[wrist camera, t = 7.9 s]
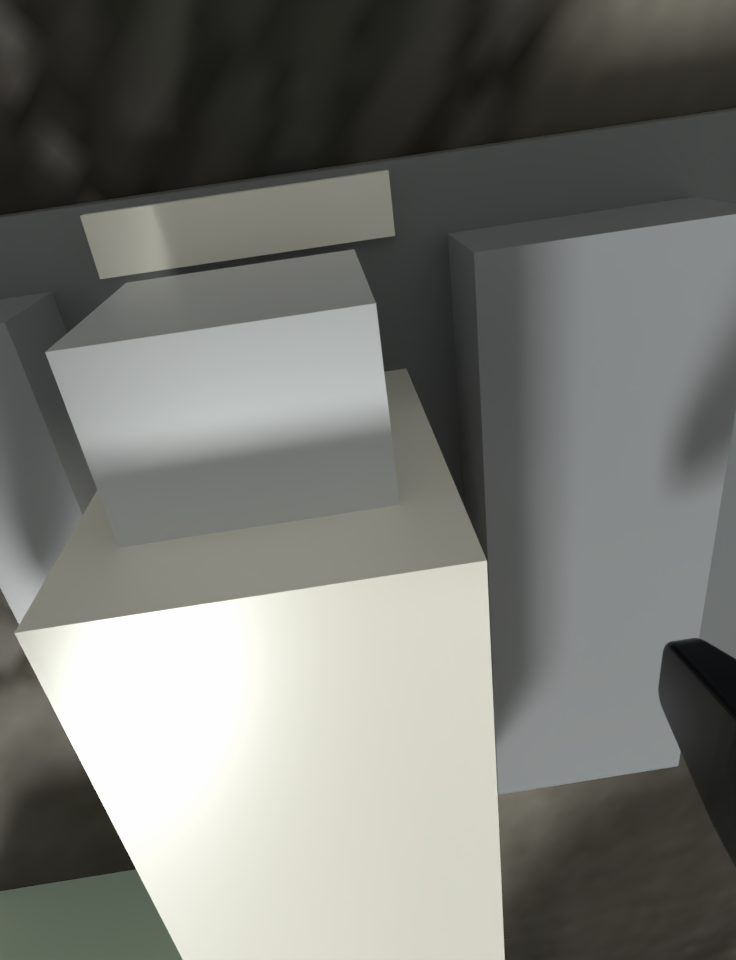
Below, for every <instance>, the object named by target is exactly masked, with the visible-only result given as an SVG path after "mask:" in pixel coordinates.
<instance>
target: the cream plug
mask: <svg viewBox="0 0 736 960" xmlns="http://www.w3.org/2000/svg"><path fill="white" fill-rule="evenodd" d="M45 353H46V356H47V359H48V361H49V364H50V367H51V369H52V372H53V375H54V377H55V380H56V382H57V385H58V388H59V390H60V393H61V396H62V398H63V401H64V403H65V406H66V409H67V411H68V414H69V417H70V419H71V422H72V425H73V427H74V430H75V432H76V435H77V438H78V440H79V443H80V446H81V448H82V451H83V454H84V456H85V459H86V461H87V464H88V467H89V469H90V472H91V475H92V477H93V480H94V483H95V485H96V488H97V491H96V493H95V495H94V496H93V498H92V500H91V502H90V503H89V505H88V507H87V509H86V510H85V512H84V514H83V515H82V517H81V519H80V521H79V522H78V524H77V526H76V528H75V529H74V531H73V533H72V534H71V536H70V538H69V540H68V541H67V543H66V545H65V547H64V548H63V550H62V552H61V553H60V555H59V557H58V559H57V560H56V562H55V564H54V566H53V567H52V569H51V571H50V573H49V574H48V576H47V578H46V579H45V581H44V583H43V585H42V586H41V588H40V590H39V592H38V593H37V595H36V597H35V598H34V600H33V602H32V604H31V605H30V607H29V609H28V611H27V612H26V614H25V616H24V617H23V619H22V621H21V623H20V624H19V626H18V628H17V630H16V631H15V635H16V637H17V639H18V641H19V643H20V645H21V647H22V649H23V651H24V652H25V654H26V656H27V658H28V660H29V662H30V664H31V666H32V668H33V670H34V672H35V674H36V676H37V678H38V680H39V682H40V684H41V685H42V687H43V689H44V691H45V693H46V695H47V697H48V699H49V701H50V703H51V705H52V707H53V709H54V711H55V713H56V715H57V717H58V719H59V720H60V722H61V724H62V726H63V728H64V730H65V732H66V734H67V736H68V738H69V740H70V742H71V744H72V746H73V748H74V750H75V752H76V753H77V755H78V757H79V759H80V761H81V763H82V765H83V767H84V769H85V771H86V773H87V775H88V777H89V779H90V781H91V783H92V785H93V786H94V788H95V790H96V792H97V794H98V796H99V798H100V800H101V802H102V804H103V806H104V808H105V810H106V812H107V814H108V816H109V818H110V819H111V821H112V823H113V825H114V827H115V829H116V831H117V833H118V835H119V837H120V839H121V841H122V843H123V845H124V847H125V849H126V851H127V852H128V854H129V856H130V858H131V860H132V862H133V864H134V866H135V868H136V870H137V872H138V874H139V876H140V878H141V880H142V882H143V884H144V885H145V887H146V889H147V891H148V893H149V895H150V897H151V899H152V901H153V903H154V905H155V907H156V909H157V911H158V913H159V915H160V917H161V918H162V920H163V922H164V924H165V926H166V928H167V930H168V932H169V934H170V936H171V938H172V940H173V942H174V944H175V946H176V948H177V950H178V951H179V953H180V955H181V957H182V959H183V960H505V953H504V931H503V908H502V886H501V864H500V842H499V819H498V797H497V775H496V753H495V730H494V708H493V686H492V664H491V641H490V619H489V597H488V574H487V560H486V557H485V555H484V552H483V550H482V548H481V545H480V543H479V541H478V538H477V536H476V533H475V531H474V529H473V526H472V524H471V521H470V519H469V517H468V514H467V512H466V510H465V507H464V505H463V502H462V500H461V498H460V495H459V493H458V490H457V488H456V486H455V483H454V481H453V479H452V476H451V474H450V471H449V469H448V467H447V464H446V462H445V459H444V457H443V455H442V452H441V450H440V448H439V445H438V443H437V440H436V438H435V436H434V433H433V431H432V428H431V426H430V424H429V421H428V419H427V417H426V414H425V412H424V409H423V407H422V405H421V402H420V400H419V397H418V395H417V393H416V390H415V388H414V386H413V383H412V381H411V378H410V376H409V374H408V371H407V369H399V370H393V371H386V372H384V366H383V358H382V349H381V341H380V333H379V324H378V316H377V307H376V302H375V300H374V297H373V295H372V292H371V290H370V287H369V285H368V282H367V280H366V277H365V275H364V272H363V270H362V267H361V265H360V262H359V260H358V257H357V255H356V252H355V250H354V249H352V250H346V251H339V252H332V253H325V254H318V255H311V256H305V257H298V258H291V259H284V260H277V261H271V262H264V263H257V264H250V265H243V266H236V267H230V268H223V269H216V270H209V271H202V272H196V273H189V274H182V275H175V276H168V277H161V278H155V279H148V280H141V281H134V282H127V283H125V284H124V285H123V286H122V287H121V288H120V289H118V290H117V291H116V292H115V293H114V294H113V295H111V296H110V297H109V298H108V299H107V300H105V301H104V302H103V303H102V304H101V305H100V306H98V307H97V308H96V309H95V310H94V311H93V312H91V313H90V314H89V315H88V316H87V317H86V318H84V319H83V320H82V321H81V322H80V323H79V324H77V325H76V326H75V327H74V328H73V329H72V330H70V331H69V332H68V333H67V334H66V335H65V336H63V337H62V338H61V339H60V340H59V341H58V342H56V343H55V344H54V345H53V346H52V347H51V348H49V349H48V350H47V351H46V352H45Z"/></svg>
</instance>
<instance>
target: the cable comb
mask: <svg viewBox="0 0 736 960" xmlns="http://www.w3.org/2000/svg"><path fill="white" fill-rule="evenodd" d="M352 249H354V250H355V252H356V255H357V257H358V260H359V262H360V265H361V267H362V270H363V272H364V275H365V277H366V280H367V282H368V285H369V287H370V290H371V292H372V295H373V297H374V300H375V302H376V307H377V316H378V324H379V333H380V341H381V349H382V358H383V366H384V372H386V371H393V370H399V369H407V371H408V374H409V376H410V378H411V381H412V383H413V386H414V388H415V390H416V393H417V395H418V397H419V400H420V402H421V405H422V407H423V409H424V412H425V414H426V417H427V419H428V421H429V424H430V426H431V428H432V431H433V433H434V436H435V438H436V440H437V443H438V445H439V448H440V450H441V452H442V455H443V457H444V459H445V462H446V464H447V467H448V469H449V471H450V474H451V476H452V479H453V481H454V483H455V486H456V488H457V490H458V493H459V495H460V498H461V500H462V502H463V505H464V507H465V510H466V512H467V514H468V517H469V519H470V521H471V524H472V526H473V529H474V531H475V533H476V536H477V538H478V541H479V543H480V545H481V548H482V550H483V552H484V555H485V557H486V560H487V574H488V597H489V619H490V641H491V664H492V686H493V708H494V730H495V753H496V775H497V791H498V795H500V794H506V793H512V792H519V791H525V790H531V789H538V788H544V787H550V786H556V785H563V784H569V783H575V782H582V781H588V780H594V779H600V778H607V777H613V776H619V775H625V774H632V773H638V772H644V771H651V770H657V769H663V768H669V767H676V766H678V765H679V759H680V753H681V751H680V749H679V746H678V744H677V742H676V739H675V737H674V735H673V732H672V730H671V728H670V725H669V723H668V721H667V718H666V716H665V714H664V712H663V709H662V707H661V703H660V700H659V695H658V684H659V676H660V669H661V661H662V653H663V649H664V646H665V645H666V644H667V643H668V642H670V641H677V640H683V639H690V638H700V639H702V640H705V641H707V642H708V643H710V644H712V645H713V646H715V647H717V648H718V649H720V650H722V651H724V652H725V653H727V654H729V655H730V656H732V657H734V658H735V659H736V108H731V109H724V110H717V111H710V112H703V113H697V114H690V115H683V116H676V117H669V118H662V119H655V120H649V121H642V122H635V123H628V124H621V125H614V126H607V127H601V128H594V129H587V130H580V131H573V132H566V133H559V134H553V135H546V136H539V137H532V138H525V139H518V140H512V141H505V142H498V143H491V144H484V145H477V146H470V147H464V148H457V149H450V150H443V151H436V152H429V153H422V154H416V155H409V156H402V157H395V158H388V159H381V160H374V161H368V162H361V163H354V164H347V165H340V166H333V167H326V168H320V169H313V170H306V171H299V172H292V173H285V174H279V175H272V176H265V177H258V178H251V179H244V180H237V181H231V182H224V183H217V184H210V185H203V186H196V187H189V188H183V189H176V190H169V191H162V192H155V193H148V194H141V195H135V196H128V197H121V198H114V199H107V200H100V201H94V202H87V203H80V204H73V205H66V206H59V207H52V208H46V209H39V210H32V211H25V212H18V213H11V214H4V215H0V588H1V590H2V592H3V594H4V596H5V598H6V600H7V602H8V604H9V606H10V608H11V610H12V612H13V614H14V616H15V618H16V620H17V621H18V623H19V624H20V623H21V621H22V619H23V617H24V616H25V614H26V612H27V611H28V609H29V607H30V605H31V604H32V602H33V600H34V598H35V597H36V595H37V593H38V592H39V590H40V588H41V586H42V585H43V583H44V581H45V579H46V578H47V576H48V574H49V573H50V571H51V569H52V567H53V566H54V564H55V562H56V560H57V559H58V557H59V555H60V553H61V552H62V550H63V548H64V547H65V545H66V543H67V541H68V540H69V538H70V536H71V534H72V533H73V531H74V529H75V528H76V526H77V524H78V522H79V521H80V519H81V517H82V515H83V514H84V512H85V510H86V509H87V507H88V505H89V503H90V502H91V500H92V498H93V496H94V495H95V493H96V491H97V488H96V485H95V483H94V480H93V477H92V475H91V472H90V469H89V467H88V464H87V461H86V459H85V456H84V454H83V451H82V448H81V446H80V443H79V440H78V438H77V435H76V432H75V430H74V427H73V425H72V422H71V419H70V417H69V414H68V411H67V409H66V406H65V403H64V401H63V398H62V396H61V393H60V390H59V388H58V385H57V382H56V380H55V377H54V375H53V372H52V369H51V367H50V364H49V361H48V359H47V356H46V353H45V352H46V351H47V350H48V349H49V348H51V347H52V346H53V345H54V344H55V343H56V342H58V341H59V340H60V339H61V338H62V337H63V336H65V335H66V334H67V333H68V332H69V331H70V330H72V329H73V328H74V327H75V326H76V325H77V324H79V323H80V322H81V321H82V320H83V319H84V318H86V317H87V316H88V315H89V314H90V313H91V312H93V311H94V310H95V309H96V308H97V307H98V306H100V305H101V304H102V303H103V302H104V301H105V300H107V299H108V298H109V297H110V296H111V295H113V294H114V293H115V292H116V291H117V290H118V289H120V288H121V287H122V286H123V285H124V284H125V283H127V282H134V281H141V280H148V279H155V278H161V277H168V276H175V275H182V274H189V273H196V272H202V271H209V270H216V269H223V268H230V267H236V266H243V265H250V264H257V263H264V262H271V261H277V260H284V259H291V258H298V257H305V256H311V255H318V254H325V253H332V252H339V251H346V250H352Z"/></svg>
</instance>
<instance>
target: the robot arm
mask: <svg viewBox="0 0 736 960" xmlns="http://www.w3.org/2000/svg"><path fill="white" fill-rule="evenodd" d="M658 695H659V700H660V703H661V707H662V709H663V712H664V714H665V716H666V718H667V721H668V723H669V725H670V728H671V730H672V732H673V735H674V737H675V739H676V742H677V744H678V746H679V749H680V751H681V753H682V755H683V758H684V760H685V762H686V765H687V767H688V769H689V772H690V774H691V776H692V779H693V781H694V783H695V786H696V788H697V790H698V792H699V795H700V797H701V799H702V802H703V804H704V806H705V809H706V811H707V813H708V815H709V817H710V819H711V822H712V824H713V826H714V828H715V830H716V832H717V834H718V835H719V837H720V839H721V841H722V843H723V845H724V847H725V849H726V850H727V852H728V854H729V856H730V858H731V859H732V861H733V863H734V865H735V867H736V659H735V658H734V657H732V656H730V655H729V654H727V653H725V652H724V651H722V650H720V649H718V648H717V647H715V646H713V645H712V644H710V643H708V642H707V641H705V640H702V639H700V638H690V639H683V640H677V641H670V642H668V643H667V644H666V645H665V646H664V649H663V653H662V661H661V669H660V676H659V684H658Z"/></svg>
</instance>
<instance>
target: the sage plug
mask: <svg viewBox="0 0 736 960" xmlns="http://www.w3.org/2000/svg"><path fill="white" fill-rule="evenodd" d="M0 960H183V959H182V957H181V955H180V953H179V951H178V950H177V948H176V946H175V944H174V942H173V940H172V938H171V936H170V934H169V932H168V930H167V928H166V926H165V924H164V922H163V920H162V918H161V917H160V915H159V913H158V911H157V909H156V907H155V905H154V903H153V901H152V899H151V897H150V895H149V893H148V891H147V889H146V887H145V885H144V884H143V882H142V880H141V878H140V876H139V874H138V872H137V870H129V871H123V872H117V873H111V874H104V875H98V876H92V877H86V878H80V879H73V880H67V881H61V882H55V883H48V884H42V885H36V886H30V887H24V888H17V889H11V890H5V891H0Z"/></svg>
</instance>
